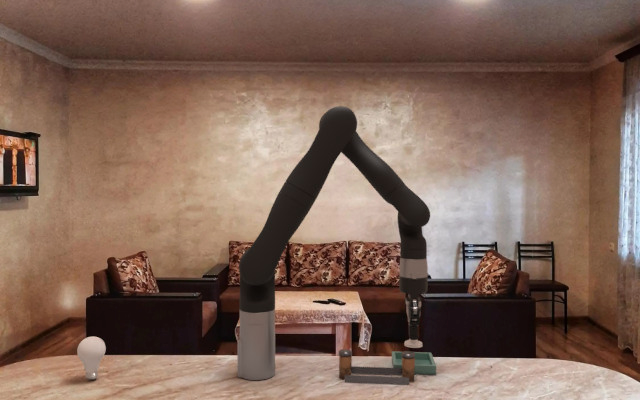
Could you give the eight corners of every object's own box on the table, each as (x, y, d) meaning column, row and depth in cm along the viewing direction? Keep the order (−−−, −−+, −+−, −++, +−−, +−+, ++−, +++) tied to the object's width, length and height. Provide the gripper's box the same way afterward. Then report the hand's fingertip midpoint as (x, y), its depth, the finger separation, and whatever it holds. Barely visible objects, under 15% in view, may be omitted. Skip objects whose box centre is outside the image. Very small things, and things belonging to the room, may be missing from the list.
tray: (393, 373, 137) (393, 364, 137) (391, 359, 148) (391, 351, 148) (436, 375, 136) (436, 366, 136) (431, 361, 147) (431, 352, 147)
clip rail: (337, 382, 131) (338, 355, 131) (339, 372, 138) (339, 347, 137) (416, 385, 129) (416, 357, 129) (413, 375, 136) (413, 349, 136)
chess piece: (422, 348, 139) (422, 311, 139) (403, 347, 140) (404, 310, 140) (422, 343, 144) (422, 307, 143) (404, 342, 145) (404, 306, 144)
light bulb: (111, 377, 134) (111, 335, 134) (90, 386, 128) (90, 342, 128) (93, 373, 137) (92, 332, 136) (71, 382, 131) (70, 338, 130)
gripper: (398, 270, 148) (397, 330, 149) (400, 278, 135) (400, 345, 135) (424, 270, 148) (424, 331, 148) (430, 279, 134) (430, 346, 134)
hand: (413, 337), depth 142 cm, fingers closed on chess piece
